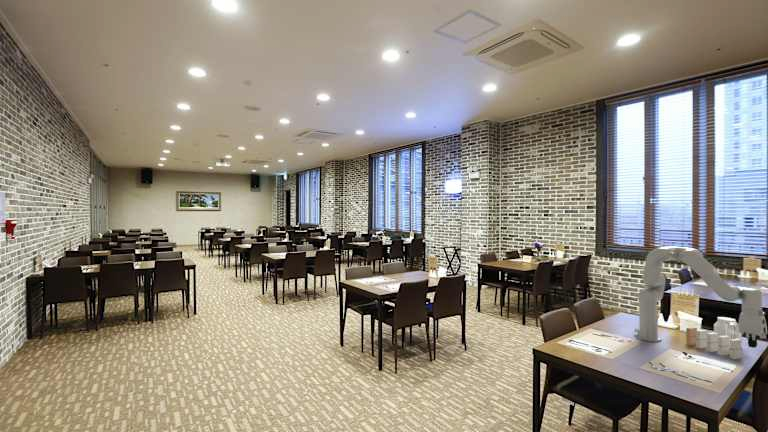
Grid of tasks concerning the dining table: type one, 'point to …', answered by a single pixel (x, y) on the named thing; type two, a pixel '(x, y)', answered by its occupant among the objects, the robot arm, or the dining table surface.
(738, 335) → the beer glass
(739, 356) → the domino
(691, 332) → the domino
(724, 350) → the domino
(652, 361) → the dining table surface
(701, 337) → the domino
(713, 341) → the domino
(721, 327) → the jar
